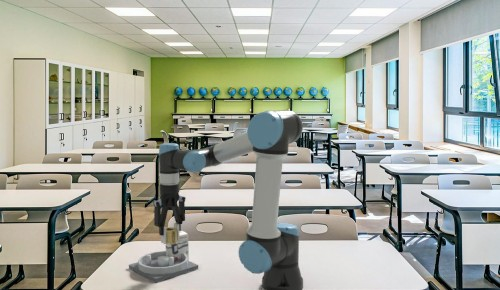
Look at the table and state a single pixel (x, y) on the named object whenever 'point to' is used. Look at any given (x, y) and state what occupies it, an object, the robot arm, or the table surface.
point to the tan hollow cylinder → (171, 235)
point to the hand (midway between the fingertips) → (170, 241)
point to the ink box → (178, 247)
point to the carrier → (162, 266)
